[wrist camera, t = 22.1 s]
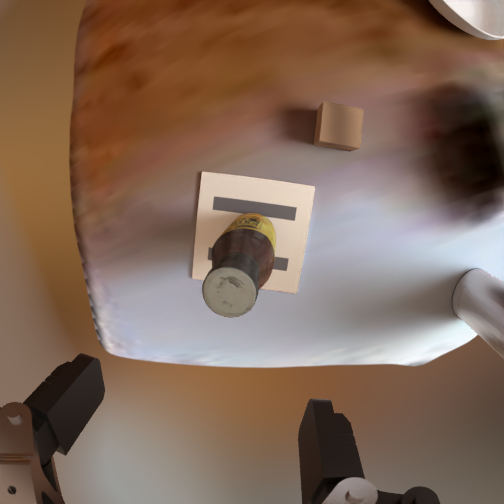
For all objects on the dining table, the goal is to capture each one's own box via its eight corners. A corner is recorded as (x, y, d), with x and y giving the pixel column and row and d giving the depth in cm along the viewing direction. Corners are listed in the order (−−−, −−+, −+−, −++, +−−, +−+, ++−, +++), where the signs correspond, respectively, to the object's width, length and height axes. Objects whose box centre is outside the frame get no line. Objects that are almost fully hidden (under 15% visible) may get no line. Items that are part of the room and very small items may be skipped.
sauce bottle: (260, 202, 39) (251, 228, 20) (284, 242, 40) (296, 303, 21) (218, 227, 40) (173, 274, 21) (242, 266, 42) (220, 341, 22)
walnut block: (352, 116, 36) (363, 109, 31) (349, 151, 37) (360, 148, 33) (317, 110, 36) (323, 101, 32) (313, 145, 38) (319, 140, 33)
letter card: (314, 186, 39) (315, 186, 38) (296, 292, 43) (297, 293, 42) (203, 171, 39) (202, 171, 39) (193, 277, 43) (192, 278, 42)
